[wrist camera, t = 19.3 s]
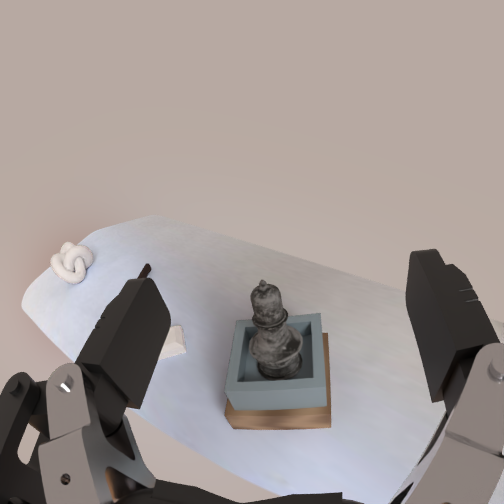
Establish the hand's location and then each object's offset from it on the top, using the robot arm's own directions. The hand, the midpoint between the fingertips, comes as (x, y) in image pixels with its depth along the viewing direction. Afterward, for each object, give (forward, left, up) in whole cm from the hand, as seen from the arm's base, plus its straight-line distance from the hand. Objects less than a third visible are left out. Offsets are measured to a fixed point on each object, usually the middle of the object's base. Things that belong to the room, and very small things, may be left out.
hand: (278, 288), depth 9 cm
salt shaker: (-1, -15, -24) cm, 28 cm away
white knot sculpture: (+42, -62, -30) cm, 81 cm away
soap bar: (+17, -29, -31) cm, 45 cm away
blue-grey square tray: (-1, -15, -26) cm, 30 cm away
